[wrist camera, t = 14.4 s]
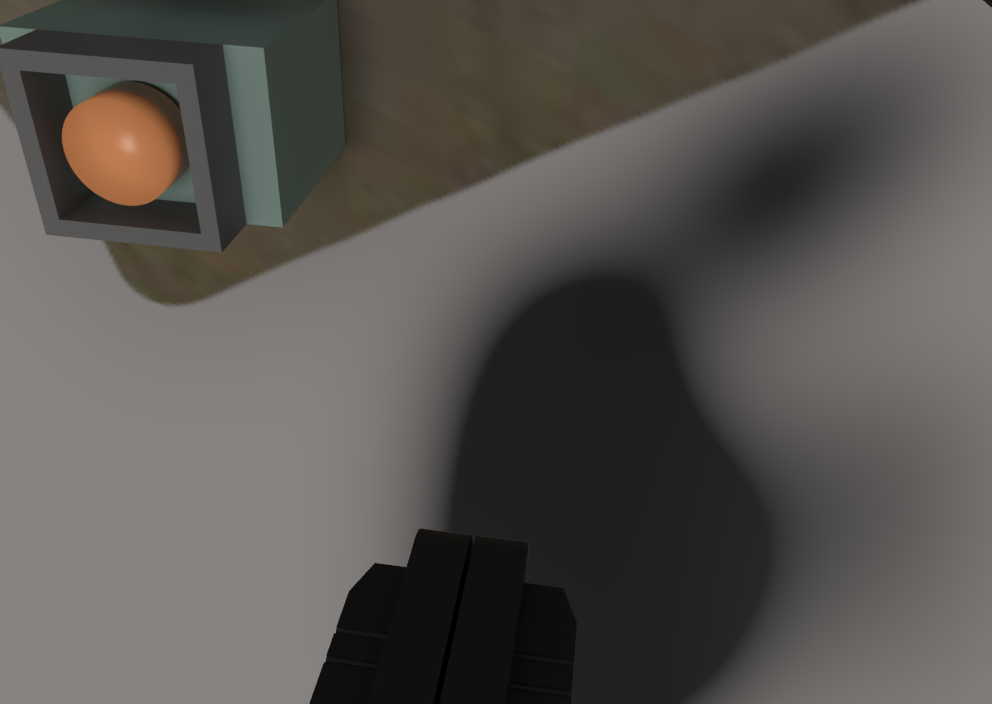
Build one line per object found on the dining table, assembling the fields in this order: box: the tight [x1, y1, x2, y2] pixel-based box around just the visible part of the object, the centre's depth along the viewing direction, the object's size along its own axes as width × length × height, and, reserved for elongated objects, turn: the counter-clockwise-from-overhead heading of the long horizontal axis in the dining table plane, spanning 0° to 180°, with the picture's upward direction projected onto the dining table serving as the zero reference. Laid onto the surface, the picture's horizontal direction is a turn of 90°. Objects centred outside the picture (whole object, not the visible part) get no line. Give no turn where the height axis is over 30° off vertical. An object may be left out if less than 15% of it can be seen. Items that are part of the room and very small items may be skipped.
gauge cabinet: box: [0, 0, 346, 253], centre depth 36 cm, size 7×10×12 cm, turn 88°
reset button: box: [62, 82, 190, 206], centre depth 32 cm, size 4×4×2 cm
